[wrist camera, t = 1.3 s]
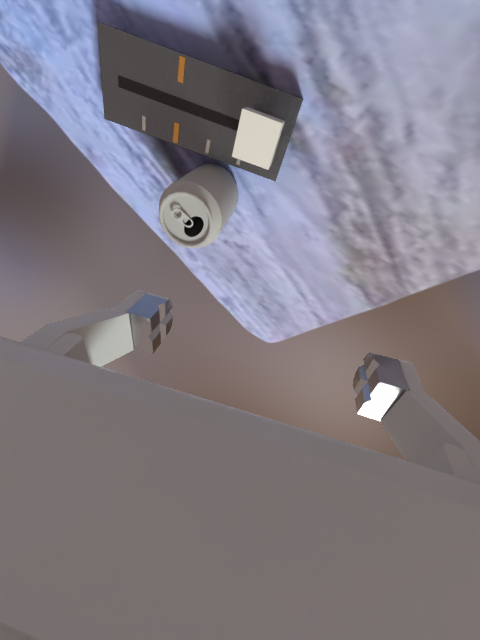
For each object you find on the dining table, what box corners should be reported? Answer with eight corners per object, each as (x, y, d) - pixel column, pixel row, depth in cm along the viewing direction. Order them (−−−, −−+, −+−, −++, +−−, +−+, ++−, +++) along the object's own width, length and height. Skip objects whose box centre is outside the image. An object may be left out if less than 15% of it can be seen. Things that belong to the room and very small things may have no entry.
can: (216, 228, 41) (190, 265, 32) (179, 190, 38) (140, 219, 29) (250, 194, 36) (231, 225, 28) (211, 148, 34) (177, 167, 25)
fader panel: (114, 27, 28) (96, 21, 26) (303, 99, 29) (302, 99, 27) (118, 117, 34) (104, 118, 31) (277, 175, 34) (275, 181, 32)
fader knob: (251, 106, 28) (242, 108, 24) (286, 119, 28) (282, 123, 24) (241, 149, 30) (231, 156, 27) (273, 160, 30) (268, 169, 27)
